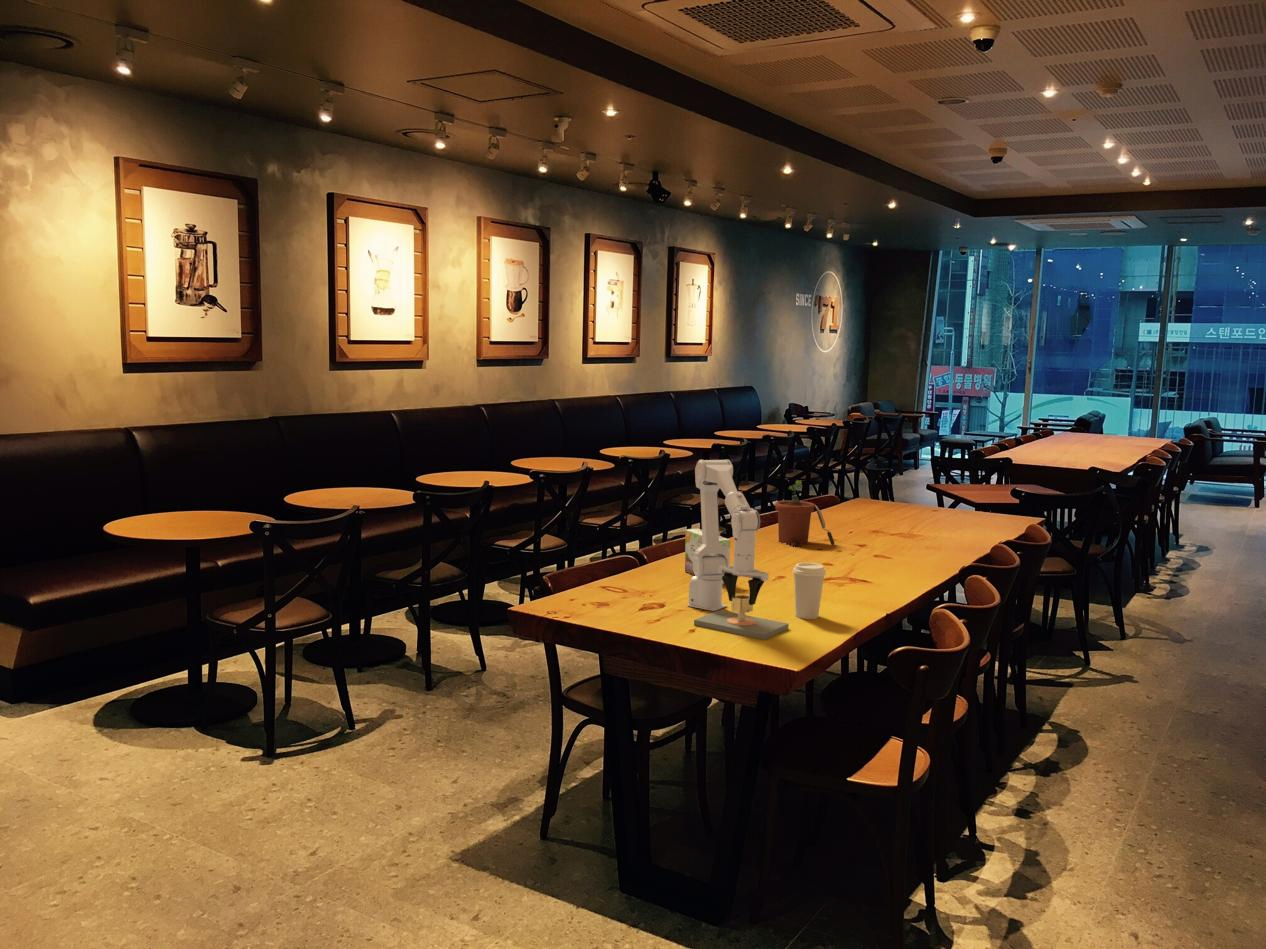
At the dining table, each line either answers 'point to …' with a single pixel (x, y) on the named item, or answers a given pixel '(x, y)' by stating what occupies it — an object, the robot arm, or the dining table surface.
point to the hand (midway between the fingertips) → (742, 602)
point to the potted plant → (796, 520)
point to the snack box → (694, 542)
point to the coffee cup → (808, 589)
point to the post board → (741, 624)
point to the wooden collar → (741, 603)
